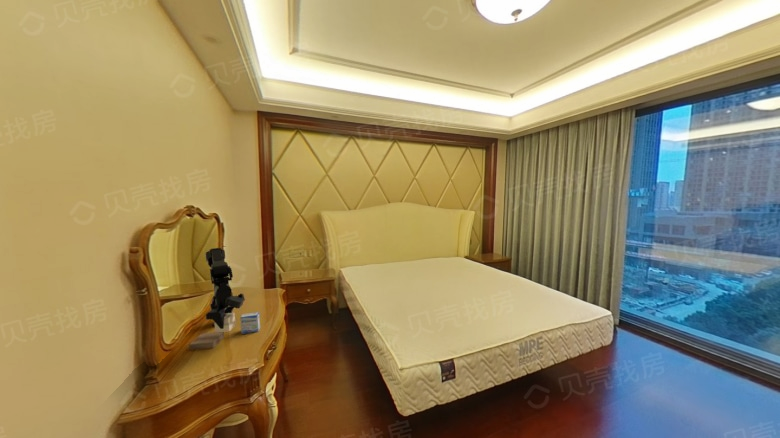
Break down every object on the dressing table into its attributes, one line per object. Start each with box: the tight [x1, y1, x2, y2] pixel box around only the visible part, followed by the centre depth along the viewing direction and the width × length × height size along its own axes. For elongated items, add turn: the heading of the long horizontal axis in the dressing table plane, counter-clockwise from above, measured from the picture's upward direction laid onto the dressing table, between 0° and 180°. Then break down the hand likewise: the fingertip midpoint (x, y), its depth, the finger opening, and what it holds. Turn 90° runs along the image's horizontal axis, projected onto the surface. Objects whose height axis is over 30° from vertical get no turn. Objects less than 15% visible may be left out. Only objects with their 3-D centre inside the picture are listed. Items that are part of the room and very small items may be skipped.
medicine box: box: [240, 311, 261, 335], centre depth 140 cm, size 8×4×9 cm, turn 105°
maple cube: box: [213, 312, 236, 333], centre depth 127 cm, size 6×6×6 cm
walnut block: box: [189, 332, 225, 351], centre depth 130 cm, size 10×10×3 cm
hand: (225, 325), depth 127 cm, fingers closed on maple cube, 6 cm apart
